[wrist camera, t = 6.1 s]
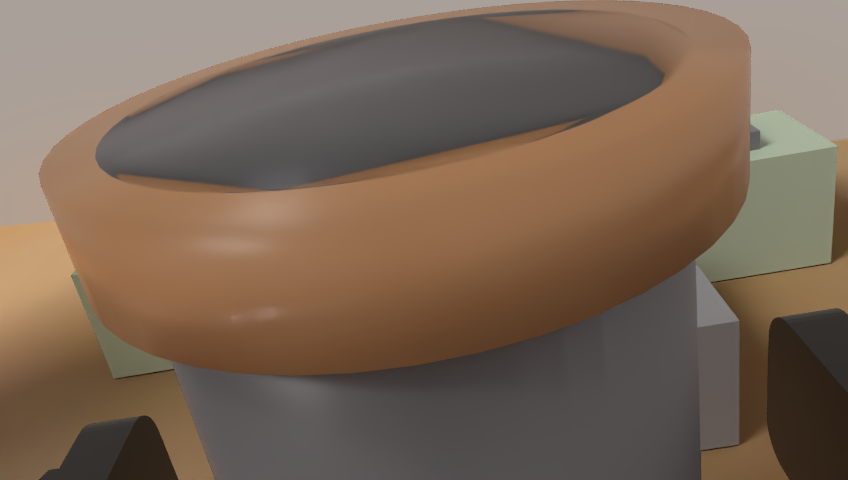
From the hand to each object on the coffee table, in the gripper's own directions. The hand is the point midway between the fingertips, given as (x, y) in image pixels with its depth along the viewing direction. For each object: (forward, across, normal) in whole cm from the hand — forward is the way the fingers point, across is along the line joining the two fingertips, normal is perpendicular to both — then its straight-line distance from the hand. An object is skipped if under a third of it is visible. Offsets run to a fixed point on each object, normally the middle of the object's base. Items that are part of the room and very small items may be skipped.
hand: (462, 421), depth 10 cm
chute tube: (-2, 0, +7) cm, 7 cm away
